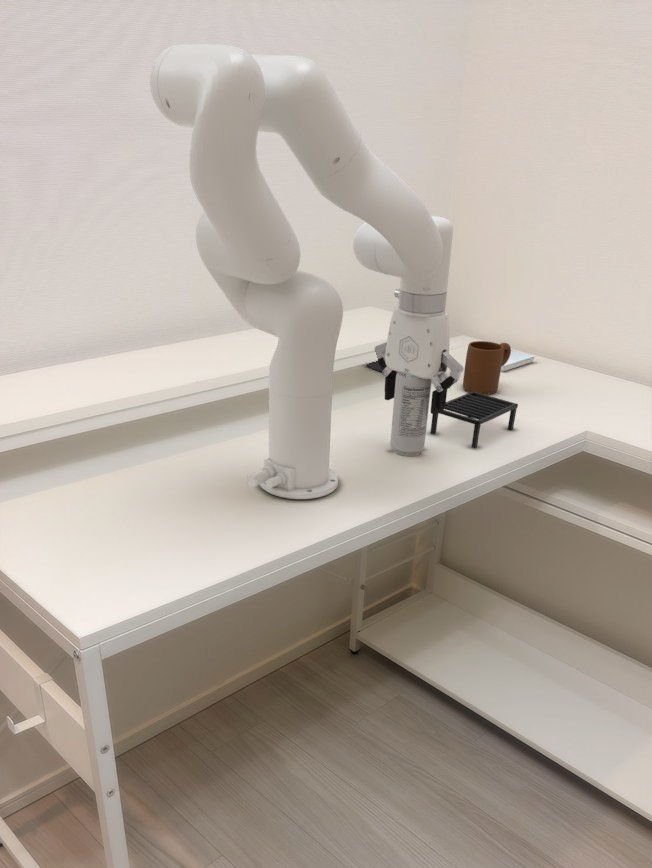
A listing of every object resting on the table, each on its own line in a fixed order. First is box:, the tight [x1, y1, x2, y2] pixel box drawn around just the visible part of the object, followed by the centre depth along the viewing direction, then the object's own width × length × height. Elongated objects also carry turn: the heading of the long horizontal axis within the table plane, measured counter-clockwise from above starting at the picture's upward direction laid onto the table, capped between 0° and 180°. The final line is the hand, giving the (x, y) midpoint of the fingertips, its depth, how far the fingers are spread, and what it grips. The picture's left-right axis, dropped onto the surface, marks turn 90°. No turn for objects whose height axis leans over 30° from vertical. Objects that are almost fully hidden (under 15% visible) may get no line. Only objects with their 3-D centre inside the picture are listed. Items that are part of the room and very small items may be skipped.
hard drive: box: [501, 349, 535, 372], centre depth 191 cm, size 2×8×12 cm
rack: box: [430, 391, 519, 449], centre depth 150 cm, size 14×10×5 cm
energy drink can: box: [389, 368, 432, 457], centre depth 138 cm, size 6×6×15 cm
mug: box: [462, 340, 512, 395], centre depth 172 cm, size 12×8×9 cm, turn 130°
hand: (413, 405), depth 138 cm, fingers open, 9 cm apart
